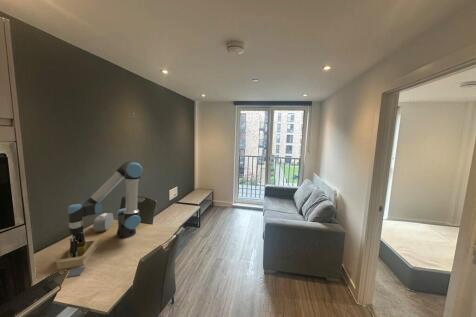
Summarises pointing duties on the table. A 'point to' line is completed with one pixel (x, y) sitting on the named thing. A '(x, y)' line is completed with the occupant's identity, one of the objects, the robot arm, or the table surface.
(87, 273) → the table surface
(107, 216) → the alarm clock
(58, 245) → the table surface
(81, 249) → the flower pot
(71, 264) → the wooden tray
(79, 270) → the mat
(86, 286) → the table surface
